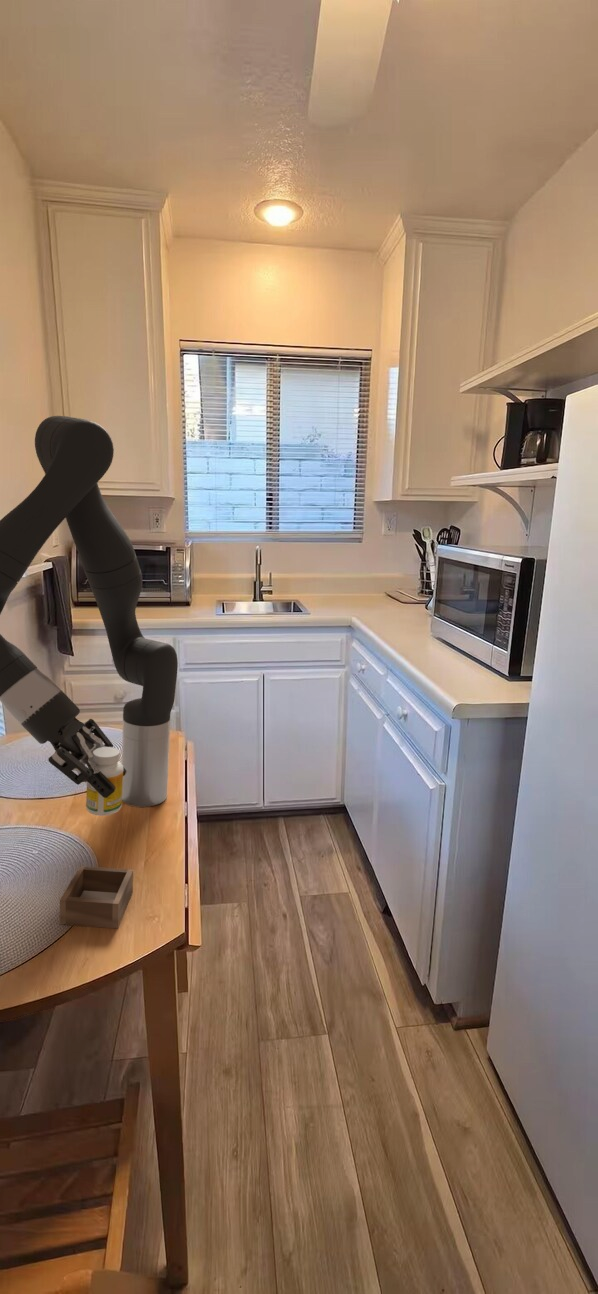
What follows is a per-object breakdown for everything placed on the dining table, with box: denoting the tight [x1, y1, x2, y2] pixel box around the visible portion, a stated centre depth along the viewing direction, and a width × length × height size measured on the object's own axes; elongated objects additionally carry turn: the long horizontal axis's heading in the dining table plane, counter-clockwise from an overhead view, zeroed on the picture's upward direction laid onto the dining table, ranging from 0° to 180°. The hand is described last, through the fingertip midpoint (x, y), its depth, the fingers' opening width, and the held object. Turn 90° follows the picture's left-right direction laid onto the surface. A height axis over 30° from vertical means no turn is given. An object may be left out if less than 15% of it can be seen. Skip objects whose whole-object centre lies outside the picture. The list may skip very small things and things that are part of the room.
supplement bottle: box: [85, 746, 123, 817], centre depth 92 cm, size 5×5×10 cm
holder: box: [59, 865, 134, 929], centre depth 88 cm, size 8×8×4 cm
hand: (116, 784), depth 93 cm, fingers closed on supplement bottle, 5 cm apart
